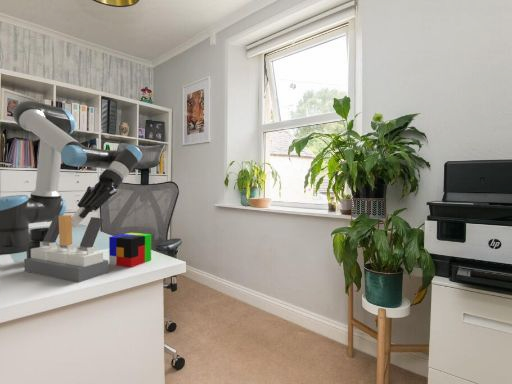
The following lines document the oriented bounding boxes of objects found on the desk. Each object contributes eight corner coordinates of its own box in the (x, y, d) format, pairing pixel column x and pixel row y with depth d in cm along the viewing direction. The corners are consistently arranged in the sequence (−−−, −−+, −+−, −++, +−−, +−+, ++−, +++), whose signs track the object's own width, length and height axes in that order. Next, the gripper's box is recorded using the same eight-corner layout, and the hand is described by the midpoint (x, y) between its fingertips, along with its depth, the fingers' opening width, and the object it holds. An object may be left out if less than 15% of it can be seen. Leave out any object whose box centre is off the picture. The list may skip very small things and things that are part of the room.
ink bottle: (39, 266, 98) (39, 231, 98) (19, 264, 100) (18, 230, 100) (63, 258, 108) (63, 227, 108) (44, 257, 110) (44, 226, 109)
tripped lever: (65, 247, 94) (64, 214, 93) (72, 248, 92) (71, 215, 92) (59, 248, 92) (58, 215, 91) (66, 249, 90) (65, 216, 90)
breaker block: (56, 263, 102) (55, 213, 101) (108, 272, 92) (108, 217, 92) (24, 271, 92) (23, 216, 92) (78, 282, 83) (78, 221, 82)
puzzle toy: (109, 264, 101) (109, 237, 101) (130, 258, 110) (130, 232, 110) (131, 267, 98) (131, 239, 97) (151, 260, 107) (151, 234, 107)
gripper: (132, 182, 109) (93, 232, 94) (107, 182, 113) (66, 230, 98) (120, 168, 104) (77, 218, 89) (95, 168, 108) (50, 216, 93)
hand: (72, 224), depth 94 cm, fingers closed
